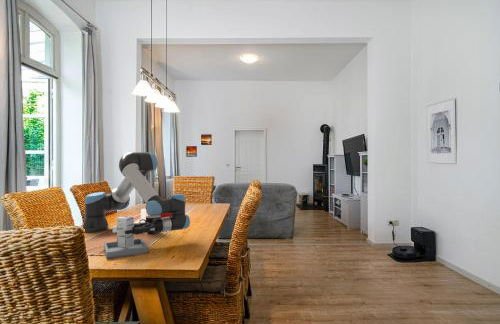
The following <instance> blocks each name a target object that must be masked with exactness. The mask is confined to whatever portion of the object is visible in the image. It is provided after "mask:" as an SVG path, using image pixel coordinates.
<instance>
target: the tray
mask: <svg viewBox="0 0 500 324" xmlns="http://www.w3.org/2000/svg"><path fill="white" fill-rule="evenodd" d="M103 251H104V253H105V257H106V259H107V260H110V259H117V258H123V257H131V256H135V255H143V254H149V245H147V243H146V242H145V240H143V238H142V237H141V238H134V245H133V246H131V247H128V248H121V247H117V240H116V241H108V242H107V241H106V242H104V243H103Z"/></svg>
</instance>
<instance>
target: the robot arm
mask: <svg viewBox="0 0 500 324" xmlns="http://www.w3.org/2000/svg"><path fill="white" fill-rule="evenodd" d="M118 169H119V172H120V173H121V175H122V176H123V177H124V178H123V179H122V181H120V183H119V185H118V186H117V187H116V188H114V189H112V191H111V192H110V193H106V192H105V191H98V192H93V193H92V192H91V193H89V194H87V195H86V196H85V198H84V221H83V224H82V227H83V228H84V229H85V232H84V233H96V232H97V233H98V232H99V233H100V232H102V231H103V232H105V231H107V230H109V223H108V220H107V217H106V213H107V212H113V211H114V212H115V211H122V210H125V209H127V208H128V207H129V205H130V202H131V197H130V194H132V192H133V191H134V189H135V190H136V192H137V193H138V194H139V195H140V197H141V198H142V200H143V201H144V203H145V211H146V214H147V216H156V215H161V214H166V213H171V217H164V218H161V219H160V218H156V219H153V220H152V223H149V222H145V221H144V222H140V223H139V222H137V223H135V222H134V227H132V228H129V229H122V230H117V225H116V226H112V233H113V234H114V233H116V237H117V236H122V235H129V234H134V236H136V235H142V234H146V233H147V234H148V232H154V233H157V234H160V233H168V232H172V231H179V230H186V229H188V228H189V227H190V225H191V220H190V219H191V218H190V217H189V215H188V214H186V195H185V194H184V193H172V194H171V196H170V197H169V198H164V199H162V198H161V196H160V195H159V194H158V192H157V191H156V189H155V188H154V187H153V186H152V185H151V184H150V182H149V181H148V179H147V178H146V177H147V176H148V174H149V173H151V172H152V173H153V172H155V171H156V170H157V169H158V158H157V156H156V155H155V153H153V152H143V151H141V152H140V151H137V152H136V151H129V152H126V153H124V154H123V155H122V156H121V158H119V162H118ZM82 227H81V228H82Z"/></svg>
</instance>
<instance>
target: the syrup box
mask: <svg viewBox="0 0 500 324" xmlns="http://www.w3.org/2000/svg"><path fill="white" fill-rule="evenodd" d="M134 218H135V217H134V216H131V215H130V216H129V215H121V216H119V217H116V226H117V230H122V229H129V228H132V227H134V223H135V221H134V220H135V219H134ZM134 239H135V234H129V235H122V236H117V235H116V241H117V247H121V248H128V247H131V246H133V245H134Z"/></svg>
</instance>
